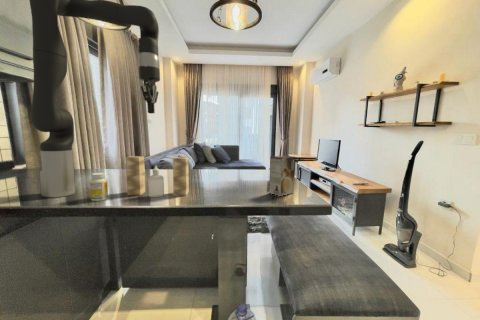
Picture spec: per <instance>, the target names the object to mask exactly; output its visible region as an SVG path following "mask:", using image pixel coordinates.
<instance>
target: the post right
mask: <svg viewBox="0 0 480 320" xmlns="http://www.w3.org/2000/svg"><path fill="white" fill-rule="evenodd" d="M189 165H190V164H189V157H188V156H175V157H173V158H172V179H173V183H172V185H173V187H172V189H173V191H172V192H173V197H186V196H187V195H188V194H189V191H190V189H189V188H190V187H189V185H190V184H189V180H190V179H189V175H190V173H189Z"/></svg>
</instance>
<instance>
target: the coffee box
mask: <svg viewBox="0 0 480 320" xmlns="http://www.w3.org/2000/svg"><path fill="white" fill-rule="evenodd" d="M269 161H270V165H269V166H270V167H269V169H270V171H269V193H271V194H270V195H272V194H275V195H274V196H276V195H278V196H277V197H279V196H282V197H284V196H283V195H286V196H288V195H287V194H289V195H291V194H290V193H293V194H294V188H295V167H296V156H290V155H279V156H278V155H276V156H270V160H269ZM269 193H268V194H269Z"/></svg>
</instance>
